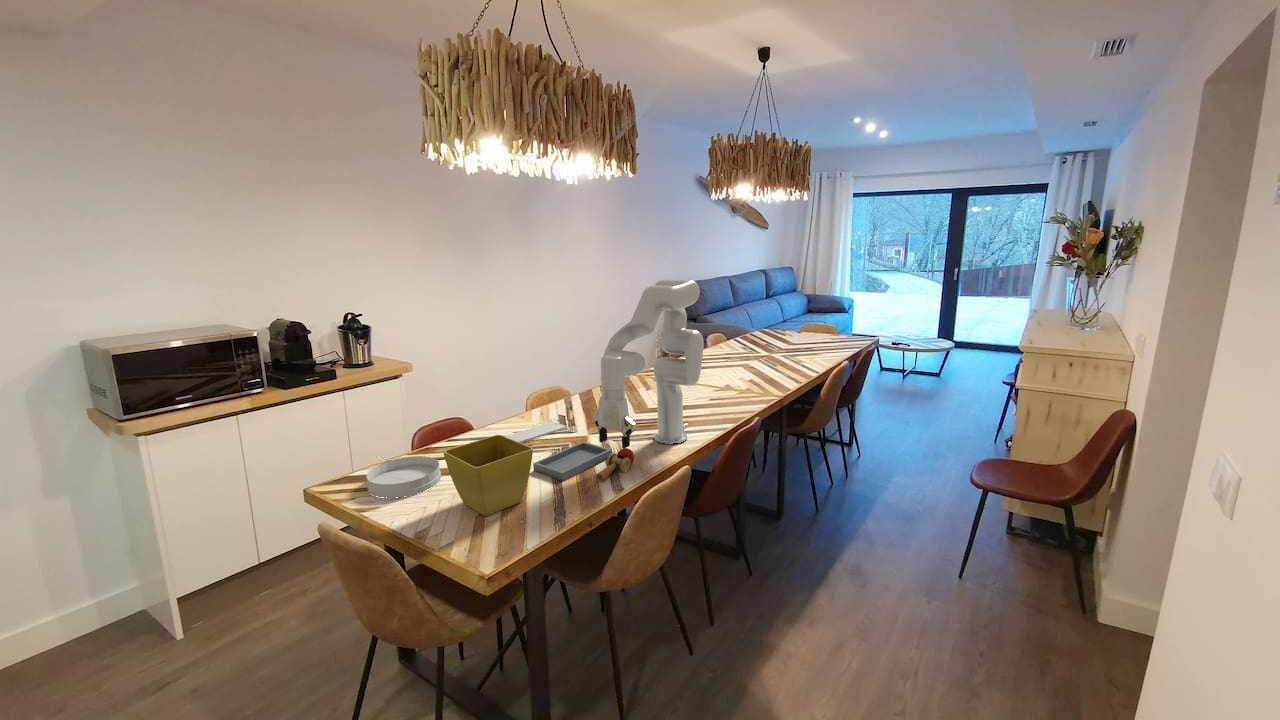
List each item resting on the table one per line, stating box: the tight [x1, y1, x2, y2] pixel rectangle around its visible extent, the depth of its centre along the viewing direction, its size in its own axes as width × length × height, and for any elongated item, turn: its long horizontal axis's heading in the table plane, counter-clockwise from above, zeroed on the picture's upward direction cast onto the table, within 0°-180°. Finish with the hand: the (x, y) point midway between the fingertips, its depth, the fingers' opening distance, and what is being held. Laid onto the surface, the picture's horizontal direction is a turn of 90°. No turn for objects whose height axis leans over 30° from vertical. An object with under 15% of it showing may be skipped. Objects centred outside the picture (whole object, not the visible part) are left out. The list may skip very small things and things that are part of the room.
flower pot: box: [442, 434, 534, 517], centre depth 164 cm, size 19×19×17 cm
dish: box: [366, 455, 442, 499], centre depth 180 cm, size 22×22×5 cm
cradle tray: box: [532, 441, 613, 482], centre depth 191 cm, size 24×14×3 cm, turn 142°
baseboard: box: [505, 419, 568, 443], centre depth 221 cm, size 31×3×12 cm
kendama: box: [595, 447, 635, 483], centre depth 184 cm, size 8×6×18 cm
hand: (614, 444), depth 182 cm, fingers open, 9 cm apart
